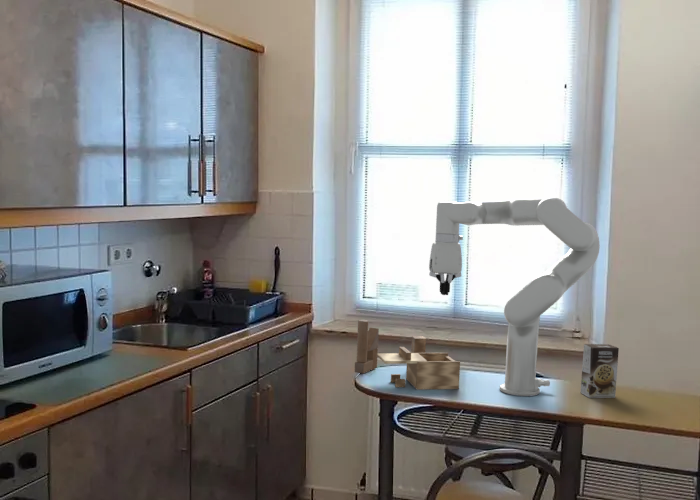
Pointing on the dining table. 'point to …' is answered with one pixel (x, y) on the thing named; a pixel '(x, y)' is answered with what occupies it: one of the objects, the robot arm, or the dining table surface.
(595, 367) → the coffee box
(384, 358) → the lid
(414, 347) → the tall wooden pillar
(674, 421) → the dining table surface
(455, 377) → the toolbox
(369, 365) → the wooden block
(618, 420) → the dining table surface
